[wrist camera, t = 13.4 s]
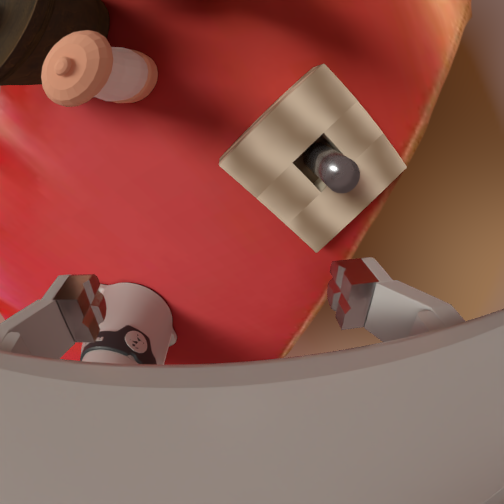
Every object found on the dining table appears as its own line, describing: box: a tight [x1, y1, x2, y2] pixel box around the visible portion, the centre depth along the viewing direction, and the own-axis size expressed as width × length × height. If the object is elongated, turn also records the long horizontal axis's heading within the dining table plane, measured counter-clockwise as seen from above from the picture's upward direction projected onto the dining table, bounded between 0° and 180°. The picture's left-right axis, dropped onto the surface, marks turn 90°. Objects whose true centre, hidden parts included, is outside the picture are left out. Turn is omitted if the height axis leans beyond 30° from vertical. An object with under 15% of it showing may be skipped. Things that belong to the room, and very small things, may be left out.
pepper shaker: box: [41, 30, 158, 107], centre depth 23 cm, size 7×7×19 cm
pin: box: [304, 143, 360, 193], centre depth 34 cm, size 4×4×10 cm
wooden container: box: [0, 0, 110, 85], centre depth 17 cm, size 15×15×22 cm
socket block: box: [219, 64, 407, 253], centre depth 37 cm, size 18×18×5 cm
